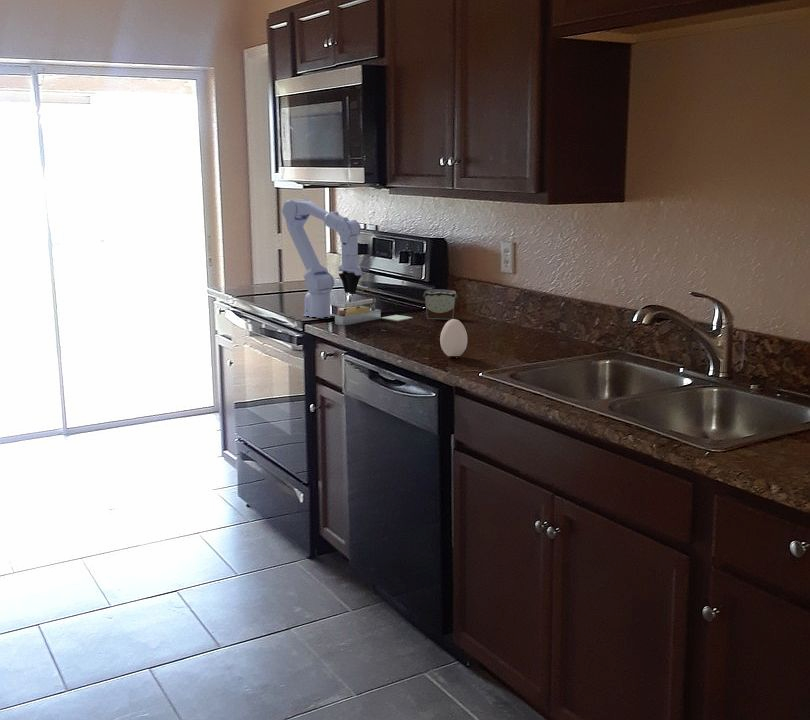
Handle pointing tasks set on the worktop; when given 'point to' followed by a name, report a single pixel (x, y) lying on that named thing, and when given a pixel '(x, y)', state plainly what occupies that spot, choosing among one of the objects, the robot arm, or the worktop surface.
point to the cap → (358, 310)
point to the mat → (397, 318)
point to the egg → (453, 338)
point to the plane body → (357, 316)
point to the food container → (440, 304)
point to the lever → (358, 302)
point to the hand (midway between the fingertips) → (350, 293)
